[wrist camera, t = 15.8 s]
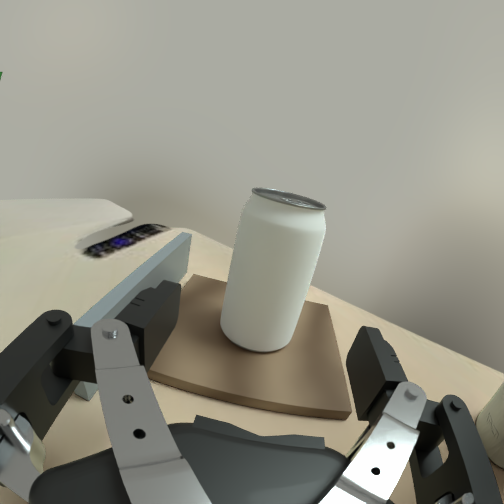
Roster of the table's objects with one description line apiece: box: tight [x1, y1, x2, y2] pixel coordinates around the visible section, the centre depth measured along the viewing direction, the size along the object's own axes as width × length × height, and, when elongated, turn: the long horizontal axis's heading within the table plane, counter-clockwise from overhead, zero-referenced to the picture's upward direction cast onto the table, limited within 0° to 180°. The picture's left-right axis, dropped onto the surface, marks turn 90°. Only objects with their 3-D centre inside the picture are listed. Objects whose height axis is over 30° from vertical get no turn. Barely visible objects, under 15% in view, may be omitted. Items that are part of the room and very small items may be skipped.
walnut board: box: [147, 274, 352, 420], centre depth 25 cm, size 16×16×1 cm
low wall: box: [73, 232, 192, 401], centre depth 23 cm, size 1×22×5 cm, turn 174°
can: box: [220, 188, 326, 352], centre depth 22 cm, size 6×6×12 cm
